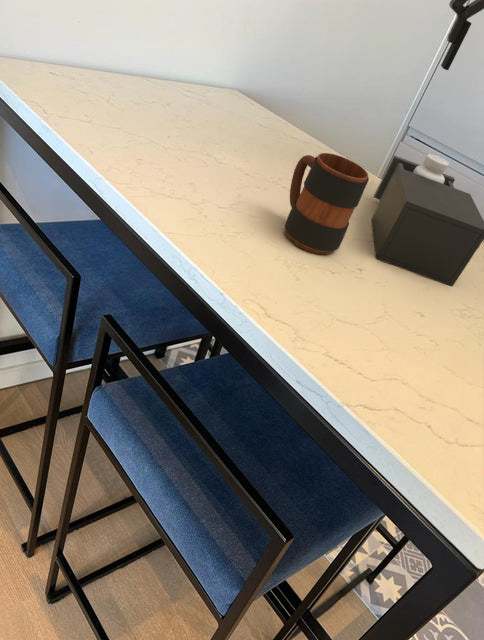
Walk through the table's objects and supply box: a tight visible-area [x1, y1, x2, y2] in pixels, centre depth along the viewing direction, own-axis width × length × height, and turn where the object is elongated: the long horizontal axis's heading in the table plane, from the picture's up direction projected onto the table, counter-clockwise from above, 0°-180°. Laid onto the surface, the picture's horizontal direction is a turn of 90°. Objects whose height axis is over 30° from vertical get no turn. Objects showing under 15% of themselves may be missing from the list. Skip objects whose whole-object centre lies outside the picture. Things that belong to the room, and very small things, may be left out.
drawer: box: [373, 155, 456, 203], centre depth 99 cm, size 18×11×8 cm, turn 170°
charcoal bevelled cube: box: [370, 167, 484, 287], centre depth 89 cm, size 15×13×10 cm
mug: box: [284, 152, 370, 255], centre depth 81 cm, size 9×12×12 cm
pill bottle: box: [413, 153, 450, 184], centre depth 97 cm, size 5×5×10 cm
